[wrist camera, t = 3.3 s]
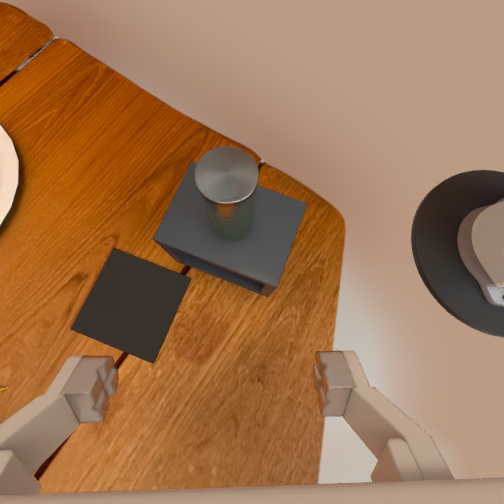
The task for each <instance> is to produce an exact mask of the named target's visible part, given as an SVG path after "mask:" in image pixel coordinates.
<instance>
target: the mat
mask: <svg viewBox="0 0 504 504" xmlns="http://www.w3.org/2000/svg"><path fill="white" fill-rule="evenodd" d="M190 281H191V278H189V277H186V276H184V275H181V274H179V273H176V272H174V271H171V270H169V269H166V268H164V267H161V266H158V265H156V264H153V263H151V262H148V261H146V260H143V259H141V258H138V257H136V256H133V255H131V254H128V253H125V252H123V251H120V250H118V249H115V248H113V250H112V252H111V254H110V256H109V258H108V259H107V261H106V263H105V265H104V267H103V269H102V271H101V273H100V275H99V276H98V278H97V280H96V282H95V284H94V286H93V288H92V290H91V291H90V293H89V295H88V297H87V299H86V301H85V303H84V305H83V307H82V308H81V310H80V312H79V314H78V316H77V318H76V320H75V322H74V324H73V325H72V327H71V330H74V331H76V332H79V333H81V334H83V335H86V336H88V337H91V338H93V339H95V340H98V341H100V342H103V343H105V344H107V345H110V346H112V347H114V348H117V349H119V350H122V351H124V352H126V353H129V354H131V355H134V356H136V357H138V358H141V359H143V360H146V361H148V362H150V363H154V361H155V359H156V357H157V355H158V352H159V350H160V348H161V346H162V344H163V341H164V339H165V337H166V335H167V332H168V330H169V328H170V326H171V323H172V321H173V319H174V317H175V314H176V312H177V310H178V308H179V305H180V303H181V301H182V299H183V296H184V294H185V292H186V290H187V287H188V285H189V283H190Z"/></svg>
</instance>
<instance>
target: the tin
mask: <svg viewBox="0 0 504 504" xmlns="http://www.w3.org/2000/svg"><path fill="white" fill-rule="evenodd" d="M258 181H259V170H258V167H257V164H256V162H255V160H254V159H253V158H252V157H251V156H250V155H249V154H248V153H247V152H246V151H244V150H242V149H240V148H237V147H232V146H221V147H217V148H214V149H212V150H210V151H208V152H207V153H205V154H204V155H203V156H202V157H201V159H200V160H199V161H198V163H197V166H196V168H195V183H196V185H197V188H198V191H199V193H200V194H201V196H202V199H203V202H204V206H205V209H206V212H207V215H208V218H209V221H210V224H211V227H212V229H213V231H214V233H215V234H216V235H217V236H218V237H220V238H221V239H224V240H227V241H237V240H240V239H242V238H244V237H245V236H247V235H248V234H249V232H250V231H251V229H252V226H253V219H254V209H255V198H256V189H257V186H258Z"/></svg>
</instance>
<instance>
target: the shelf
mask: <svg viewBox="0 0 504 504" xmlns="http://www.w3.org/2000/svg"><path fill="white" fill-rule="evenodd" d="M196 166H197V163H195V162H191V164H190V166H189V168H188V170H187V172H186V174H185V176H184V178H183V180H182V182H181V184H180V186H179V188H178V190H177V192H176V194H175V196H174V198H173V200H172V202H171V204H170V206H169V208H168V210H167V212H166V214H165V216H164V218H163V220H162V222H161V224H160V226H159V228H158V230H157V232H156V234H155V236H154V238H153V240H154V241H155V242H157V243H158V244H159V245H160V246H161V247H162V248H163V249H164V250H165V251H166V252H167V253H168V254H169V255H170V256H171V257H173V258H174V259H175V260H176V261H177V262H179V263H182V264H185V265H187V266H190V267H192V268H195V269H197V270H200V271H202V272H205V273H208V274H210V275H213V276H215V277H218V278H220V279H223V280H225V281H228V282H231V283H233V284H236V285H238V286H241V287H243V288H246V289H249V290H251V291H254V292H256V293H259V294H261V295H264V296H266V297H268V296H269V295H270V294H271V293H272V292H273V291H274V290H275V289H276V288H277V286H278V283H279V280H280V278H281V275H282V272H283V269H284V267H285V264H286V261H287V258H288V256H289V253H290V250H291V247H292V245H293V242H294V239H295V236H296V234H297V231H298V228H299V225H300V223H301V220H302V217H303V214H304V212H305V209H306V206H307V203H304V202H301V201H299V200H296V199H293V198H290V197H288V196H285V195H282V194H280V193H277V192H274V191H271V190H269V189H266V188H263V187H260V186H257V189H256V198H255V209H254V219H253V226H252V229H251V231H250V232H249V234H248V235H247V236H245V237H244V238H242V239H240V240H237V241H227V240H224V239H221V238H220V237H218V236H217V235H216V234H215V233H214V231H213V229H212V227H211V224H210V221H209V218H208V215H207V212H206V209H205V206H204V202H203V199H202V196H201V194H200V193H199V191H198V188H197V185H196V183H195V168H196Z"/></svg>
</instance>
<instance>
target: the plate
mask: <svg viewBox="0 0 504 504" xmlns="http://www.w3.org/2000/svg"><path fill="white" fill-rule="evenodd" d="M18 186H19V159H18V156H17V153H16V150H15V147H14V144H13V141H12V139H11V138H10V137H9V135H8V134H7V133H6V132H5V130H4V129H3V128H2V126H1V125H0V226H1V225H2V223H3V222H4V220H5V218H6V217H7V215H8V213H9V212H10V210H11V208H12V205H13V202H14V199H15V195H16V192H17V189H18Z"/></svg>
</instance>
